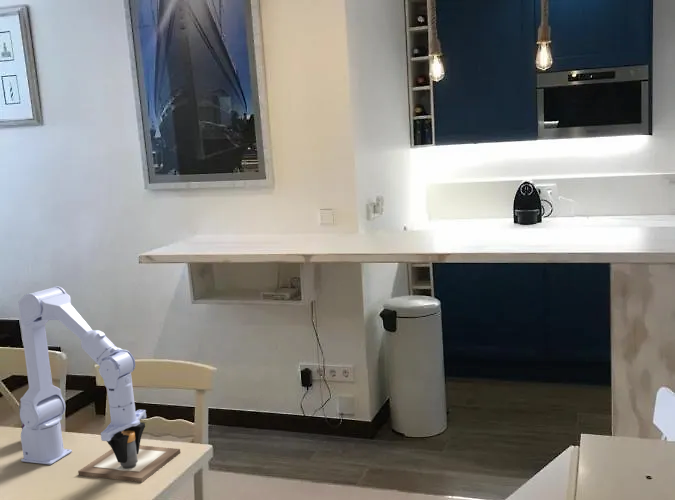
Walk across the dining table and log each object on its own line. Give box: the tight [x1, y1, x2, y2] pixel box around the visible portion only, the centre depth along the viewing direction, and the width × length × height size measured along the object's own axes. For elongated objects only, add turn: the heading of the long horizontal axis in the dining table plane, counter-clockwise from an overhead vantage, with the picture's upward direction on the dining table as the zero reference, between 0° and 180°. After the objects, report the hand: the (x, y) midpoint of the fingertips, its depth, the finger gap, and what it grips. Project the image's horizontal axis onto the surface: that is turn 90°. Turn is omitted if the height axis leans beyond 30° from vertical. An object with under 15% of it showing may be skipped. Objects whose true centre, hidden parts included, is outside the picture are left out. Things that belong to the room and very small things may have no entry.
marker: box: [120, 430, 138, 469], centre depth 171 cm, size 4×4×8 cm
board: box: [77, 444, 181, 483], centre depth 175 cm, size 18×16×1 cm
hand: (128, 457), depth 171 cm, fingers closed on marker, 4 cm apart
